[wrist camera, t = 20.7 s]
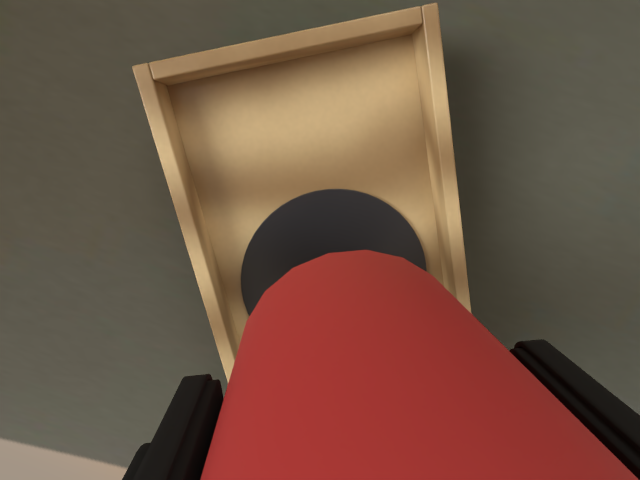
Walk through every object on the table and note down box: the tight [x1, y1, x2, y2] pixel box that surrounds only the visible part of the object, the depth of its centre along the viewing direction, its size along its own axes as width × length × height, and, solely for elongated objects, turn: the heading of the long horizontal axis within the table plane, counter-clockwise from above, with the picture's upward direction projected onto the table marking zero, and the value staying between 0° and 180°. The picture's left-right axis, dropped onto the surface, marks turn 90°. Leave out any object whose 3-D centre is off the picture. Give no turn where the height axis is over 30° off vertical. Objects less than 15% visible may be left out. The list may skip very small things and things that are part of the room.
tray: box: [132, 3, 471, 383], centre depth 14 cm, size 20×11×8 cm, turn 11°
